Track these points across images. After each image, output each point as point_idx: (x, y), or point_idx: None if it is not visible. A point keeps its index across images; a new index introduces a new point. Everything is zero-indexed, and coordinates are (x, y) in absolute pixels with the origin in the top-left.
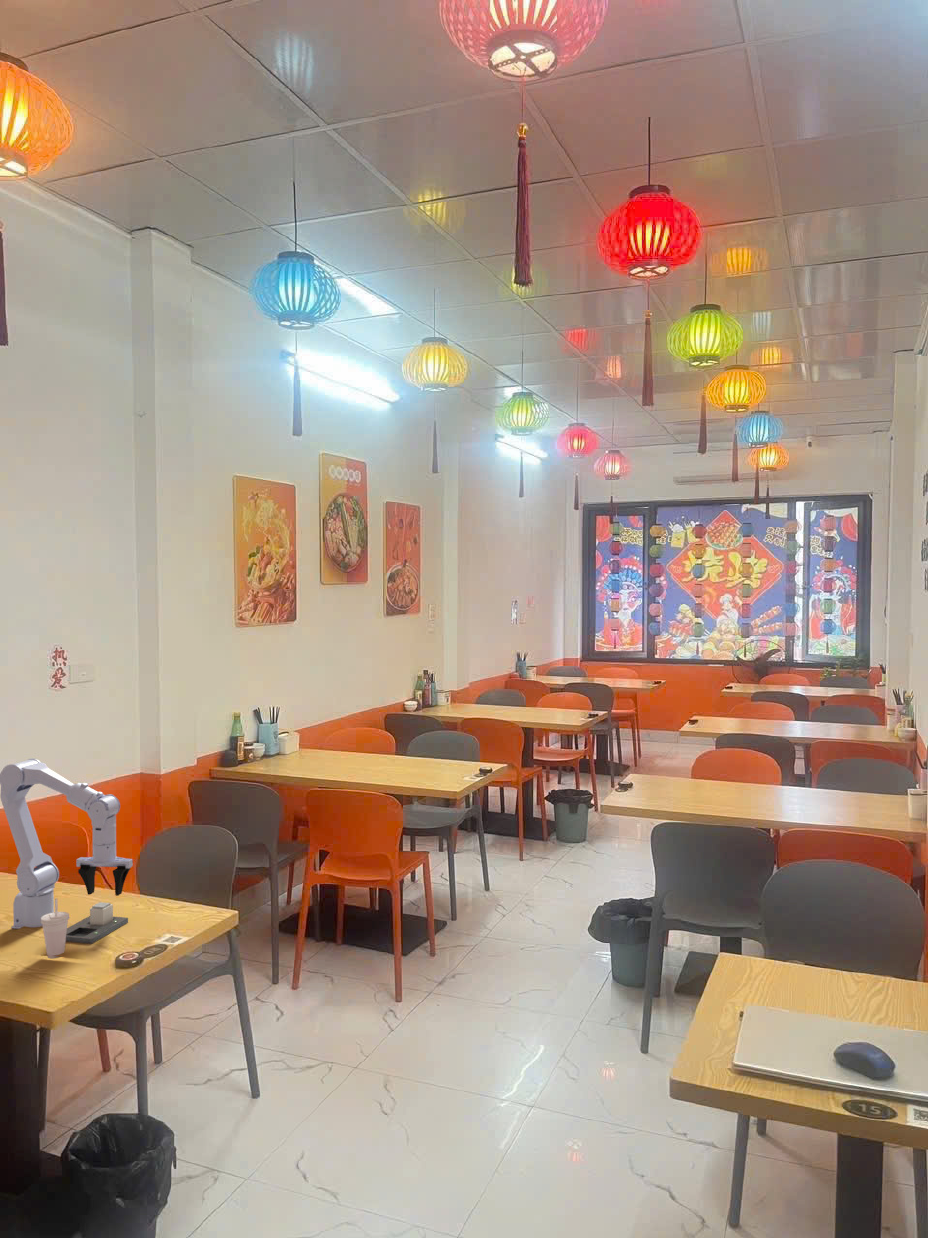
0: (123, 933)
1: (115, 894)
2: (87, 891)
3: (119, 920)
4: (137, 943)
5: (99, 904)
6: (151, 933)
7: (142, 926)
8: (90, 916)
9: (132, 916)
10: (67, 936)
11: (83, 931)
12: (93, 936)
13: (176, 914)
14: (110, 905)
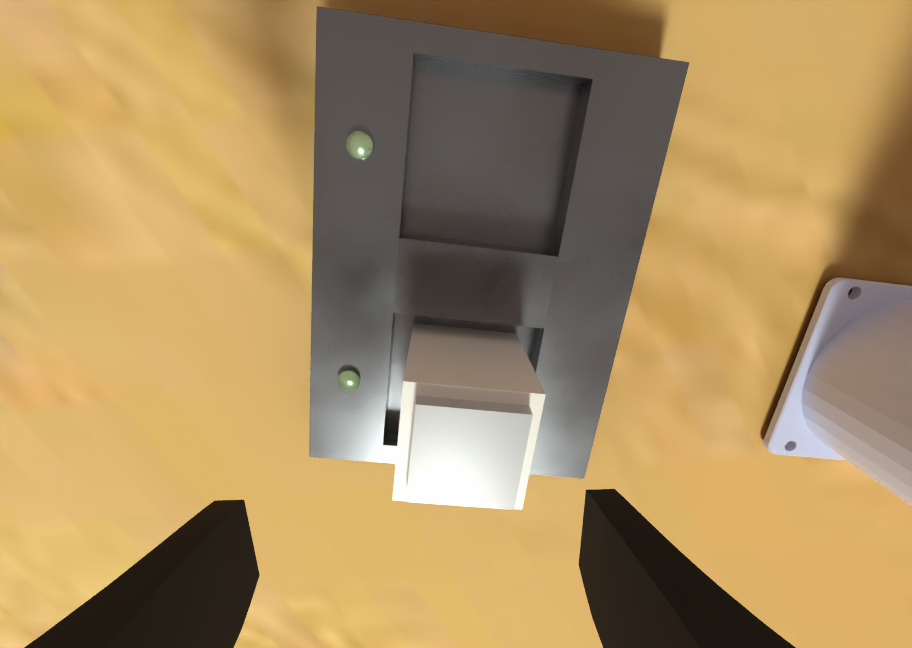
0: (268, 307)
1: (234, 509)
2: (634, 512)
3: (337, 409)
4: (40, 140)
5: (488, 463)
6: (81, 326)
7: (223, 424)
8: (526, 363)
9: (381, 545)
10: (561, 47)
11: (519, 247)
12: (337, 71)
13: None
14: (399, 480)
